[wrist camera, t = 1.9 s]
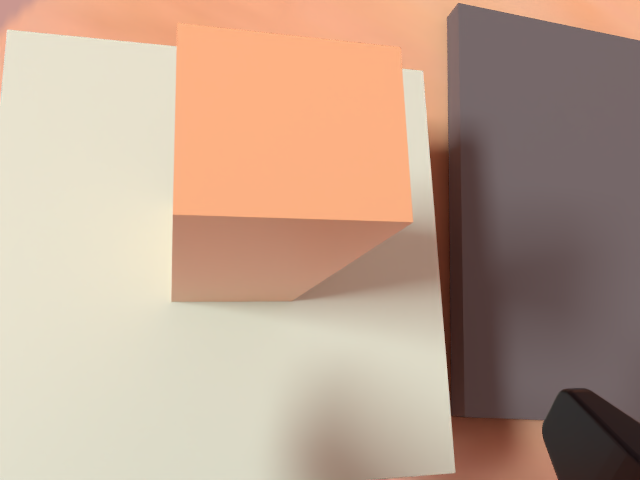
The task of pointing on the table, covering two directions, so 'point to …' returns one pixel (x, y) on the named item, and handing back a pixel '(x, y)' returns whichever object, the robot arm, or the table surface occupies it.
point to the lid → (217, 261)
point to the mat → (542, 214)
